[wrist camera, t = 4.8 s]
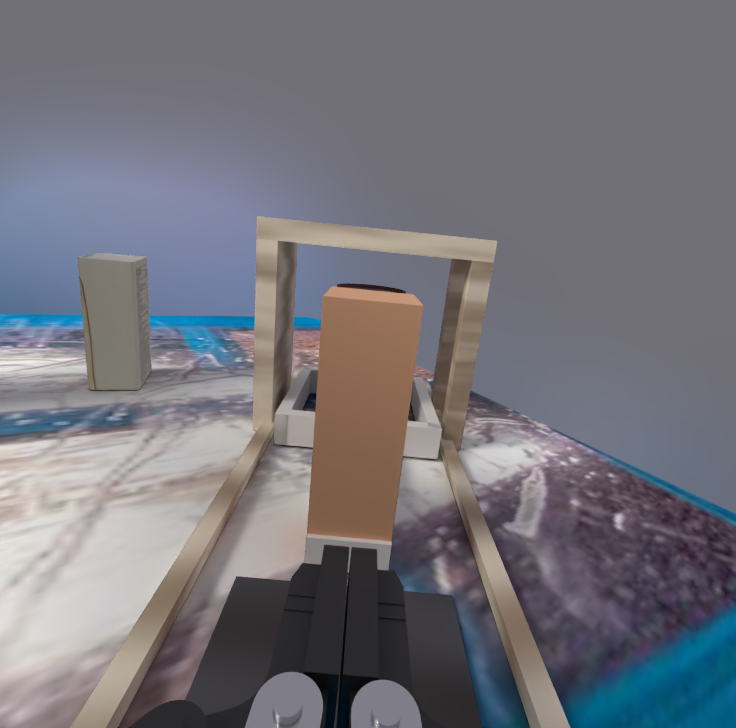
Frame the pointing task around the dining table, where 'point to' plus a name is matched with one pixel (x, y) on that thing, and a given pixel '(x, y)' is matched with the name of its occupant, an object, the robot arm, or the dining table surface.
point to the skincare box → (115, 320)
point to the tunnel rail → (268, 597)
